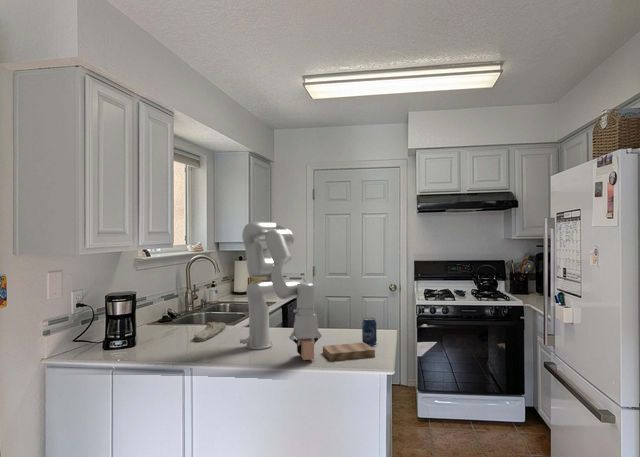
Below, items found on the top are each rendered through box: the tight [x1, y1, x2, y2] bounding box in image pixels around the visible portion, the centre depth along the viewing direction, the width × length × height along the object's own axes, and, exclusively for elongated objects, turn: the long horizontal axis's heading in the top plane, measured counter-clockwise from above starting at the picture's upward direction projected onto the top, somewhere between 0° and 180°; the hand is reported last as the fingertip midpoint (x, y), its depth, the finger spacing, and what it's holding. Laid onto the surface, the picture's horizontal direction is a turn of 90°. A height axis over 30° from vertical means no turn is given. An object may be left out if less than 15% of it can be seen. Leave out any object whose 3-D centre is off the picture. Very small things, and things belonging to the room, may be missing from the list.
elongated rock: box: [193, 321, 227, 343], centre depth 237 cm, size 35×5×10 cm
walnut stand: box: [322, 342, 376, 362], centre depth 193 cm, size 20×13×3 cm, turn 105°
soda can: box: [361, 317, 378, 346], centre depth 211 cm, size 7×7×12 cm
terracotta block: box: [299, 339, 315, 361], centre depth 188 cm, size 4×12×7 cm, turn 15°
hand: (305, 353), depth 188 cm, fingers closed on terracotta block, 4 cm apart
